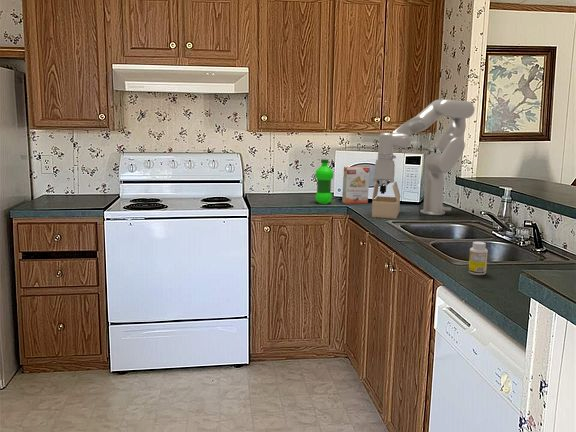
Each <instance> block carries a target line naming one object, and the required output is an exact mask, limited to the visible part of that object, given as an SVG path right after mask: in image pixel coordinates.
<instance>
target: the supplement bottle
mask: <svg viewBox="0 0 576 432" xmlns="http://www.w3.org/2000/svg"><path fill="white" fill-rule="evenodd" d="M486 246H487V245H486V242H483V241H472V247H470V248H469V256H468V257H469V259H468V274H471V275H475V276H483V275H485V274H486V273H487V268H488V267H487V266H488V256H489V255H488V253H489V251H488V248H486Z"/></svg>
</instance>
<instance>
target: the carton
mask: <svg viewBox="0 0 576 432" xmlns="http://www.w3.org/2000/svg"><path fill="white" fill-rule="evenodd" d="M400 201H401V197H400V198H399V200H398V201H396V197H395V196H378V195H377V196H376V197H375V198H374V199H373V200H372V202H371V205H372V207H371V218H376V217H377V218H379V219H395V220H396V219H397V218H398V216H399V214H400Z"/></svg>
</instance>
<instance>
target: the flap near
mask: <svg viewBox="0 0 576 432" xmlns="http://www.w3.org/2000/svg"><path fill="white" fill-rule="evenodd" d="M392 190H393V193H394V197H396V201H398V200H399V198H400V199H401V193H400V189H399V187H398V183H397V181H394V182H393V184H392Z"/></svg>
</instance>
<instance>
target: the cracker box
mask: <svg viewBox="0 0 576 432" xmlns="http://www.w3.org/2000/svg"><path fill="white" fill-rule="evenodd" d="M370 169H371V168H370V167H367V166H343V173H342V174H343V175H342V176H343V178H342V179H343V180H342V197H341V198H342V200H341V202H342V203H343V204H347V205H348V204H349V205H351V204H352V205H353V204H354V205H355V204H356V205H357V204H360V205H361V204H363V205H364V204H366V205H367V204H368V202H369V189H370V187H369V185H370Z"/></svg>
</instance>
